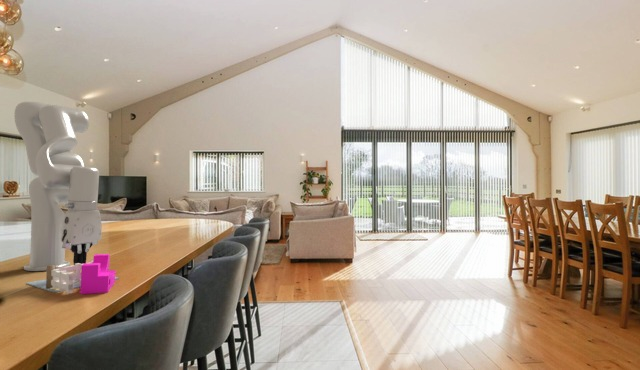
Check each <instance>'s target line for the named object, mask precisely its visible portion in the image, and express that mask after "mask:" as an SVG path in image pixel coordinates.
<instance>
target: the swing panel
mask: <svg viewBox="0 0 640 370" xmlns="http://www.w3.org/2000/svg"><path fill="white" fill-rule="evenodd" d="M90 263H93V260H91V261H90ZM82 265H83V264H81V263H76V264H75V265H74V264H73V265H69V266H67V267H64V266H58V268H57V269H60V271H64V270H65V271H67V272H66V273H70V272H74V273H73V280H74V281H80V278H81V270H82Z"/></svg>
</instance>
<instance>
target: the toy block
mask: <svg viewBox="0 0 640 370" xmlns="http://www.w3.org/2000/svg"><path fill="white" fill-rule="evenodd" d="M92 261H93V263H91V262H86V263H84V264H83V265H82V269H81V287H80V293H79V294H80V295H88V294H89V295H90V294H105V293H106V294H107V293H109V291H110V290H111V289H112V287H113V285H114V284H115V283H116V280H115V277H116V269H115V270H113V269H112V270H111V269H110V253H105V254H104V253H103V254H102V253H98V254H97V253H96V254H94V255H93V260H92ZM109 269H110V270H109Z"/></svg>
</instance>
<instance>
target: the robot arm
mask: <svg viewBox="0 0 640 370" xmlns="http://www.w3.org/2000/svg"><path fill="white" fill-rule="evenodd" d="M14 123H15V127H16V129H17V131H18V133H19V135H20V136H21V138H22V140H23V142H24V146H25V151H26V156H27V160H28V165H29V169H30V171H31V173H32V174H33V175H35V176H37V177H35V178H33V179H32V180H30V183H29V185H28V194H29V195H28V196H29V199H30V207H31V208H30V209H31V216H30V217H31V220H30V221H31V222H30V223H31V224H30V226H31V227H30V248H29V249H30V251H29V252H30V253H29V254H30V255H29V258H30V259H29V263H28V264H25V265H24V266H23V270H25V271H29V272H42V271H46V272H47V266H48V265H55V269H57V268H58V266H64V267H67V266H71V262H70V261H68V260H65V259H66V257H65V256H66V255H65V254H66V249H67V250H70V251H71V252H72V253H73V259H72V261H73V265H75V264H76V263H81V264H84V263H87V257H88V256H87V254H88V253H89V252H90V249H91V247H92V246H95V245H97V244H98V243H99V241H101V240H102V218H101V213H100V210H99V209H98V198H99V184H100V183H99V181H100V171H99V169H98V168H96V167H92V166H91V167H90V166H86V165H85V164H84V160H83V158H82V157H81V155H79V154H78V153H75V152H70V151H71V150H73V149H74V148H76V146H77V145H78V138H77V135H76V133H79V134H84V133H85V132H87V130H88V129H89V127H90V119H89V117H88V115H87V113H86V112H85V111H84V110H82V109H80V108H79V109H78V108H73V107H68V106H62V105H57V104H49V103H44V102H37V101H22V102H20V103H18V104H17V105H16V106H15V108H14ZM61 204H64V207H65V209H67V210H66V211H65V212H64V211H63V210H62V208H61V207H60V206H59V205H61Z"/></svg>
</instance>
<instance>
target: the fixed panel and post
mask: <svg viewBox="0 0 640 370" xmlns="http://www.w3.org/2000/svg"><path fill="white" fill-rule="evenodd" d="M73 274H74V271H70V272H67V271H65V270H64V271H60V269H55V265H48V266H47V270H46V277H45V278H46V288H47V289H50V288H52V289H59V291H60V292H64V291H65V294H72V293H74V289H73Z"/></svg>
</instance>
